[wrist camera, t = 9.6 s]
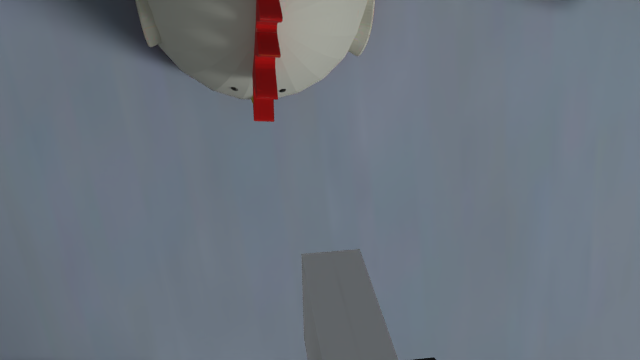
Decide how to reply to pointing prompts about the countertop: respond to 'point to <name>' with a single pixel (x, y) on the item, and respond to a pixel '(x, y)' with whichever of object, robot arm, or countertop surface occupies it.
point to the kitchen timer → (257, 42)
